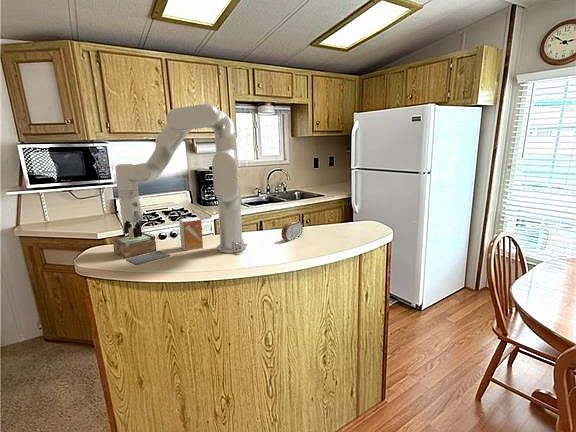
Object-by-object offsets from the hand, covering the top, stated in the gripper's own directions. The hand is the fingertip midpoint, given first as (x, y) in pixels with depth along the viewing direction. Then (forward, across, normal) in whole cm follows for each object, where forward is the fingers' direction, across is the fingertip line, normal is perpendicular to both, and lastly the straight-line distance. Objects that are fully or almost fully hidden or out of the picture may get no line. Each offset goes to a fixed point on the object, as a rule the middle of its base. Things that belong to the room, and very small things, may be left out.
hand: (133, 234), depth 136 cm
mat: (+8, -12, 0) cm, 14 cm away
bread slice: (+8, -40, -58) cm, 71 cm away
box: (+8, 0, 0) cm, 8 cm away
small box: (+8, -14, -19) cm, 25 cm away
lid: (+3, 0, 0) cm, 3 cm away
